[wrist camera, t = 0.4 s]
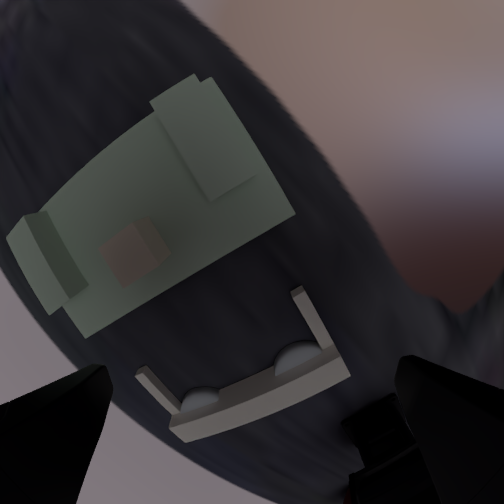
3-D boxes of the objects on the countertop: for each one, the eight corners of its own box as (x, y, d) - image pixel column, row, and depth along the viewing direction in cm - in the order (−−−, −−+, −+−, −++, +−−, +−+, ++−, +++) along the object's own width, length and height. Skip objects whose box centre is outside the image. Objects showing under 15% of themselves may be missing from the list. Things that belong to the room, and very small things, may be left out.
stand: (293, 212, 19) (305, 220, 16) (90, 333, 22) (69, 356, 18) (212, 81, 17) (205, 59, 13) (27, 230, 19) (-2, 239, 15)
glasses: (345, 364, 23) (355, 384, 20) (196, 427, 24) (193, 449, 21) (301, 285, 21) (310, 301, 18) (138, 368, 22) (128, 388, 19)
